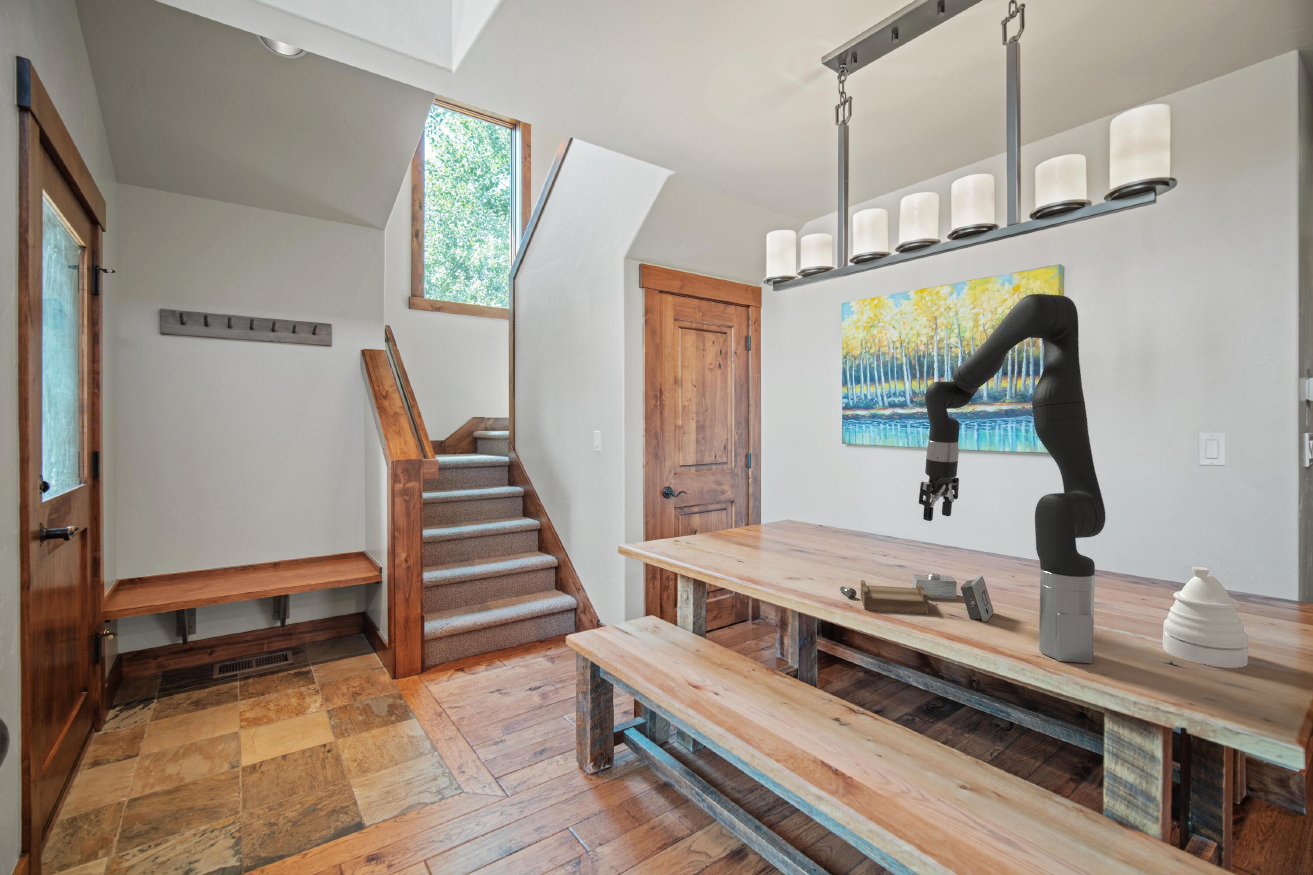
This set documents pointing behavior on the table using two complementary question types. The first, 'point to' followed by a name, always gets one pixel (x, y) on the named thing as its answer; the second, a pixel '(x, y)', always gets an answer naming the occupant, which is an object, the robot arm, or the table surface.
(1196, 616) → the honey pot
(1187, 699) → the table surface
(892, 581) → the table surface
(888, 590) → the brown wooden tray
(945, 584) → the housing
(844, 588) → the bolt
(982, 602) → the electrical switch
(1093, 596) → the robot arm
